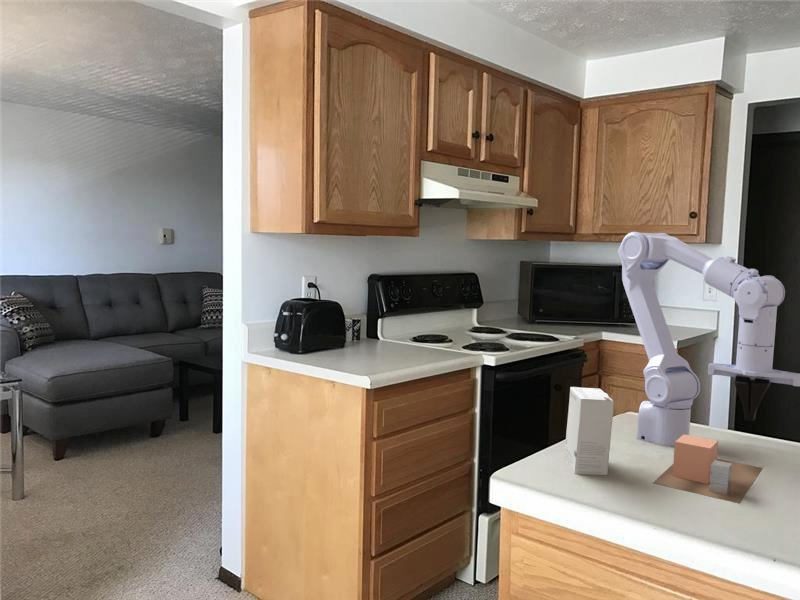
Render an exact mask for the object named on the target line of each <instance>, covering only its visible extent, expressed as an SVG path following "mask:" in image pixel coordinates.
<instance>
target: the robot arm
mask: <svg viewBox="0 0 800 600" xmlns="http://www.w3.org/2000/svg"><path fill="white" fill-rule="evenodd" d="M617 254H618V256H619V259H620V261H621V267H622V268H621V281H622V284H623V287H624V290H625V293H626V296H627V299H628V302H629V306H630V308H631V311H632V315H633V316H634V319H635V324H636V326H637V330H638V332H639V334H640V335H639V336H640V338H641V340H642V344H643V346H644V350H645V353H646V355H647V358H648V362H647V365H646V366H645V367H644V369H643V371H642V373H643V377H644V381H645V383H644V391H645V394H646V396H647V397H646V398H648V400H643V401H642V402H641V403H640V405H639V409H638V414H637V425H636V426H637V429H636V430H637V431H636V440H639V441H645V442H649V443H654V444H658V445H661V446H666V447H672V448H673V447H674V448H675V441H676V440H677V439H679V438H680V437H681V436H682V435H684V434H685V435H690V426H691V413H692V411H691V410H692V405H693V403H694V399H696V398H697V397H698V396H699V395H700V392H701V383H700V379H699V377H698V376H697V374H696V373H695V372H694V371H693V370H692V368H691V367H690V363H689V362H688V360H686V359H685V358H684V357H682V356H681V355H679V354H678V352H677V349H676V347H675V343H674V341H673V338H672V335H671V332H670V328H669V326H668V324H667V322H666V321H667V320H666V318H665V316H664V312H663V310H662V307H661V304H660V301H659V298H658V296H657V293H656V290H655V287H654V285H653V281H654V279H655V277H656V276H657V274H659V272H660V271H661V270H662V269H663V268H664V267H665V266H666V264H667V263H668V262H669V261H670V260H671V261H673V262H676V263H678V264H680V265H682V266H684V267H686V268H689V269H690V270H693V271H695V272H697V273H699V274H702V275H703V278H704V283H705V284H706V285H708V286H710V287H712V288H714V289H715V290H718V291H719V292H721V293H723V294H725V295H726V296H729V297H731V298H733V300H734V302H735V304H736V305H737V306H738V315H739V317H738V331H737V332H738V334H737V345H736V361H735V364H729V363H728V364H727V363H715V362H711V363H709V364H708V367H707V368H708V369H707V375H709V376H715V375H716V376H720V377H721V376H724V377H731V378H735V379H734V382H733V383H734V387H735V388H736V391H737V393H738V396H739V399H740V401H741V404H742V409H743V415H744V416H743V417H744V421H747V422H748V421H749V422H755V420H756V416H757V412H758V409H759V406H760V404H761V402H762V400H763V398H764V395H765V394H766V393H767V391H768V389H769V387H770V386H771V384H772V383H775V384H783V385H791V386H793V387H800V373H797V372H791V371H786V370H785V371H783V370H779V369H773V363H774V350H775V339H776V338H775V337H776V326H777V325H776V323H777V312H778V311H777V310H778V307H779V306H780V305H781V304H782V303H783V302H784V299H785V296H786V295H785V294H786V290H785V286H784V284H783V283H782V282H781V281H780V280H779V279H777V278H776V277H775V276H774V275H763V276H760V274H759V270H758V269H756V268H747V267H745V266H744V265H741V264H738V263H737V262H736V260H737V258H734V256H733V257H732V256H726V257H725V256H719V257H716V258H712V257H711V256H710V257H709V256H708V255H706V254H705V253H703V252H702V251H700V250H698V249H696V248H694V247H693V246H691V245H689V244H687V243H685V242H684V241H682V240H680V239H679V238H678V237H677V236H671V235H669V234H667V233H665V232H657V233H654V232H653V233H652V232H650V233H649V232H638V231H631V232H629V233H627V234H626V235H625V236H624V237H623V239H622V241H621V243H620V246H619V248H618V250H617Z"/></svg>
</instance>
